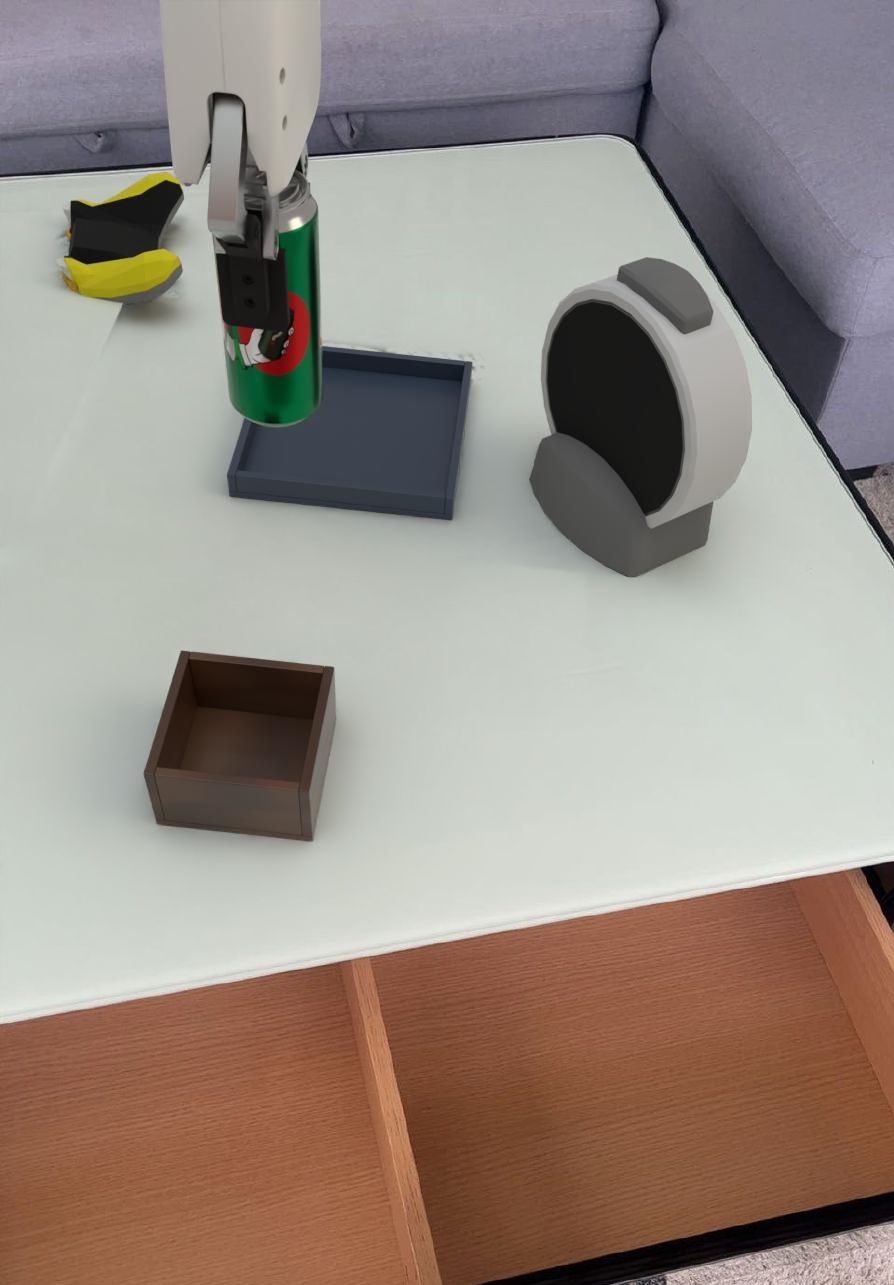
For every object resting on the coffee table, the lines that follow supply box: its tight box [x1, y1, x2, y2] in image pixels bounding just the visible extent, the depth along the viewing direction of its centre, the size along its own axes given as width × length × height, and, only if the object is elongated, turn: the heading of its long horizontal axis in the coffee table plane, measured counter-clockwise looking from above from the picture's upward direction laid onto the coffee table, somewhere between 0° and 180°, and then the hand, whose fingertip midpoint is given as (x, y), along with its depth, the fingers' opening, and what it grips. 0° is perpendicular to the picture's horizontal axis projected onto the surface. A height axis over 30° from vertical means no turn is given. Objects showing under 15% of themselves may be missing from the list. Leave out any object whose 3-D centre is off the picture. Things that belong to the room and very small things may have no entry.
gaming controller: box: [55, 171, 185, 305], centre depth 98 cm, size 15×6×10 cm
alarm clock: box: [529, 256, 753, 578], centre depth 79 cm, size 16×10×18 cm, turn 33°
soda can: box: [211, 165, 323, 427], centre depth 59 cm, size 5×5×12 cm
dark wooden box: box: [143, 650, 337, 842], centre depth 69 cm, size 9×9×5 cm
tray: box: [226, 345, 473, 521], centre depth 89 cm, size 16×16×2 cm
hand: (268, 287), depth 59 cm, fingers closed on soda can, 5 cm apart
